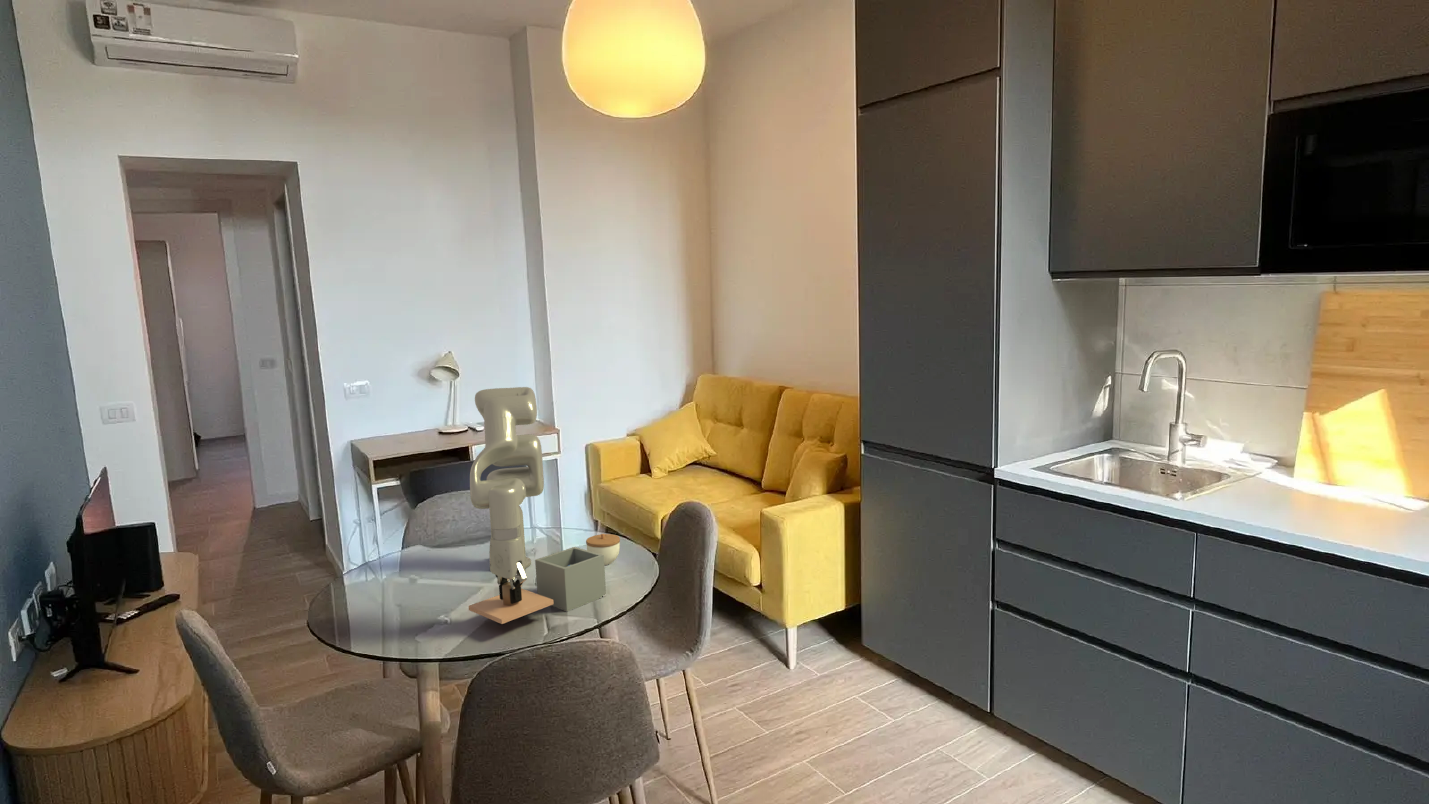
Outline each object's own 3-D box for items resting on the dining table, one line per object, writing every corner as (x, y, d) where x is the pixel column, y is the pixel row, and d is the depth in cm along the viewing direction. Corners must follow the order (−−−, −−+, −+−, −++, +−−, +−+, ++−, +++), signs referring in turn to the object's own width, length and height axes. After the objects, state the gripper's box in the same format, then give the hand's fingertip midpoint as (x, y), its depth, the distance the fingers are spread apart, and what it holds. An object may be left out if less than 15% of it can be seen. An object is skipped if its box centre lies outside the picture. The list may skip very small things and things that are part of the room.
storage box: (537, 600, 224) (535, 559, 223) (576, 586, 235) (574, 546, 233) (567, 611, 216) (564, 569, 214) (606, 595, 226) (603, 555, 225)
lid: (469, 613, 209) (467, 587, 208) (520, 595, 221) (518, 570, 220) (502, 627, 199) (500, 600, 198) (553, 607, 211) (552, 581, 210)
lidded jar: (627, 559, 257) (626, 531, 255) (606, 570, 248) (604, 541, 246) (602, 555, 262) (600, 527, 261) (580, 564, 253) (578, 536, 252)
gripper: (475, 530, 210) (480, 597, 212) (512, 541, 199) (517, 612, 201) (499, 524, 215) (504, 589, 218) (537, 534, 204) (542, 602, 207)
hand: (510, 599), depth 209 cm, fingers closed on lid, 4 cm apart
